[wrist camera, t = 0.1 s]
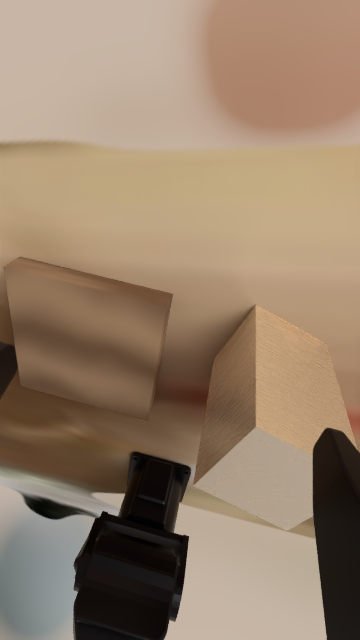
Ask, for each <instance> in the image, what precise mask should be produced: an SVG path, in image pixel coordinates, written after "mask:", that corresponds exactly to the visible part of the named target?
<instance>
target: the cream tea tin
mask: <svg viewBox="0 0 360 640" xmlns="http://www.w3.org/2000/svg"><path fill="white" fill-rule="evenodd" d="M328 427H329V428H333V429H337V430H341V431H343V432H344V433H345V434H346V436H347V437H348V438H349V440H350V441H351V442H352V444H353V445H354V446H355V447H356V449H357V446H356V443H355V440H354V436H353V433H352V429H351V426H350V423H349V419H348V416H347V412H346V409H345V406H344V402H343V399H342V396H341V392H340V389H339V385H338V382H337V379H336V375H335V372H334V368H333V365H332V362H331V358H330V355H329V352H328V348H327V345H326V343H324V342H323V341H321V340H319V339H317V338H315V337H314V336H312V335H310V334H308V333H306V332H304V331H303V330H301V329H299V328H297V327H295V326H294V325H292V324H290V323H288V322H286V321H285V320H283V319H281V318H279V317H277V316H276V315H274V314H272V313H270V312H268V311H266V310H265V309H263V308H261V307H259V306H257V305H255V307H254V308H253V309H252V310H251V312H250V313H249V314H248V316H247V317H246V318H245V320H244V321H243V322H242V323H241V325H240V326H239V327H238V329H237V330H236V331H235V332H234V334H233V335H232V336H231V338H230V339H229V340H228V342H227V343H226V344H225V345H224V347H223V348H222V349H221V351H220V352H219V353H218V354H217V356H216V357H215V358H214V363H213V369H212V375H211V381H210V387H209V393H208V399H207V405H206V411H205V417H204V423H203V429H202V435H201V441H200V447H199V453H198V459H197V465H196V471H195V477H194V483H193V486H194V487H196V488H198V489H201V490H203V491H205V492H207V493H209V494H211V495H213V496H215V497H217V498H219V499H221V500H223V501H226V502H228V503H230V504H232V505H234V506H236V507H238V508H240V509H242V510H244V511H246V512H248V513H251V514H253V515H255V516H257V517H259V518H261V519H263V520H265V521H267V522H269V523H271V524H273V525H276V526H278V527H280V528H282V529H284V530H286V531H288V530H290V529H291V528H293V527H295V526H296V525H298V524H300V523H302V522H303V521H305V520H307V519H308V518H310V517H312V516H313V448H314V445H315V443H316V442H317V440H318V439H319V437H320V435H321V434H322V432H323V431H324V430H325V429H326V428H328Z"/></svg>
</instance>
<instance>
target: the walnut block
mask: <svg viewBox="0 0 360 640" xmlns="http://www.w3.org/2000/svg"><path fill="white" fill-rule="evenodd" d="M4 273H5V280H6V287H7V294H8V301H9V308H10V315H11V322H12V329H13V336H14V343H15V349H16V356H17V363H18V371H19V378H20V385H21V386H22V387H26V388H29V389H33V390H37V391H40V392H44V393H48V394H51V395H55V396H59V397H62V398H66V399H70V400H74V401H77V402H81V403H85V404H88V405H92V406H96V407H99V408H103V409H107V410H110V411H114V412H118V413H122V414H125V415H129V416H133V417H136V418H140V419H144V420H147V421H148V418H149V415H150V412H151V409H152V406H153V402H154V397H155V391H156V386H157V380H158V374H159V369H160V363H161V357H162V352H163V346H164V341H165V335H166V329H167V324H168V318H169V313H170V307H171V301H172V296H173V294H170V293H166V292H162V291H158V290H154V289H150V288H146V287H142V286H137V285H133V284H129V283H125V282H121V281H117V280H113V279H109V278H105V277H101V276H96V275H92V274H88V273H84V272H80V271H76V270H72V269H68V268H64V267H60V266H55V265H51V264H47V263H43V262H39V261H35V260H31V259H27V258H23V257H19V258H18V259H16V260H14V261H13V262H11V263H10V264H8V265H7V266H5V267H4Z"/></svg>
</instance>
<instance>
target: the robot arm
mask: <svg viewBox="0 0 360 640" xmlns="http://www.w3.org/2000/svg"><path fill="white" fill-rule="evenodd" d="M17 368H18V363H17V356H16V349H15V346H14V345H13V344H11V343H7V342H3V341H0V399H1V397H2V395H3V394H4V392H5V390H6V388H7V387H8V385H9V383H10V382H11V380H12V378H13V377H14V375H15V373H16V371H17ZM190 474H191V468H189V467H187V466H183V465H180V464H176V463H173V462H169V461H165V460H162V459H158V458H155V457H151V456H147V455H144V454H140V453H136V452H135V453H133V454H132V456H131V462H130V469H129V476H128V483H127V487H128V488H127V491H126V494H125V497H124V500H123V503H122V506H121V509H120V512H119V515H118V516H114V515H111V514H108V512H104V511H103V512H102V514H101V516H100V518H95V521H94V523H93V526H92V529H91V531H90V533H89V536H88V538H87V540H86V542H85V543H84V545H83V547H82V548H81V550H80V552H79V554H78V556H77V557H76V559H75V562H74V569H75V571H76V575H75V584H74V591H77V592H78V594H77V596H76V599H75V602H74V614H73V616H74V618H73V634H74V640H164V638H165V636H166V633H167V629H168V624H169V620H171V621H174V622H175V621H176V618H177V614H178V610H179V606H180V601H181V596H182V590H183V584H184V577H185V568H186V558H187V550H188V540H189V536H186V535H179V534H176V533H174V528H175V522H176V518H177V512H178V507H179V502H181V501H182V499H183V496H184V493H185V490H186V486H187V483H188V480H189V477H190ZM313 517H314V526H315V536H316V545H317V554H318V563H319V572H320V579H321V580H320V581H321V589H322V599H323V608H324V617H325V626H326V634H327V640H360V453H359V451H358V450H357V449H356V447H355V446H354V445H353V444H352V442H351V441H350V440H349V438H348V437H347V436H346V434H345V433H344V432H343V431H341V430H337V429H333V428H329V427H328V428H326V429H325V430H324V431H323V432H322V434H321V435H320V437H319V439H318V440H317V442H316V443H315V445H314V448H313Z"/></svg>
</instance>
